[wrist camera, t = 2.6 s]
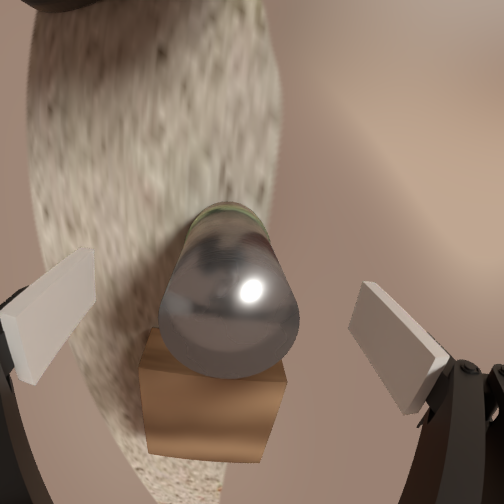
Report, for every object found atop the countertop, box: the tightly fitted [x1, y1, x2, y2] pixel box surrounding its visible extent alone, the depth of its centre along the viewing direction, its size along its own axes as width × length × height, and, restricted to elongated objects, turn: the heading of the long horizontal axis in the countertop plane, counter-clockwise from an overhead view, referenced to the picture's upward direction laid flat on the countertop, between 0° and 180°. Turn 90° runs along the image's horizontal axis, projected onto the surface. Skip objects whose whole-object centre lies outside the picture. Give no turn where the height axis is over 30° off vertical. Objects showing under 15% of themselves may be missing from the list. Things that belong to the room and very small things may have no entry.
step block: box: [138, 328, 287, 463], centre depth 23 cm, size 14×10×5 cm
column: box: [158, 202, 300, 379], centre depth 16 cm, size 5×5×11 cm
